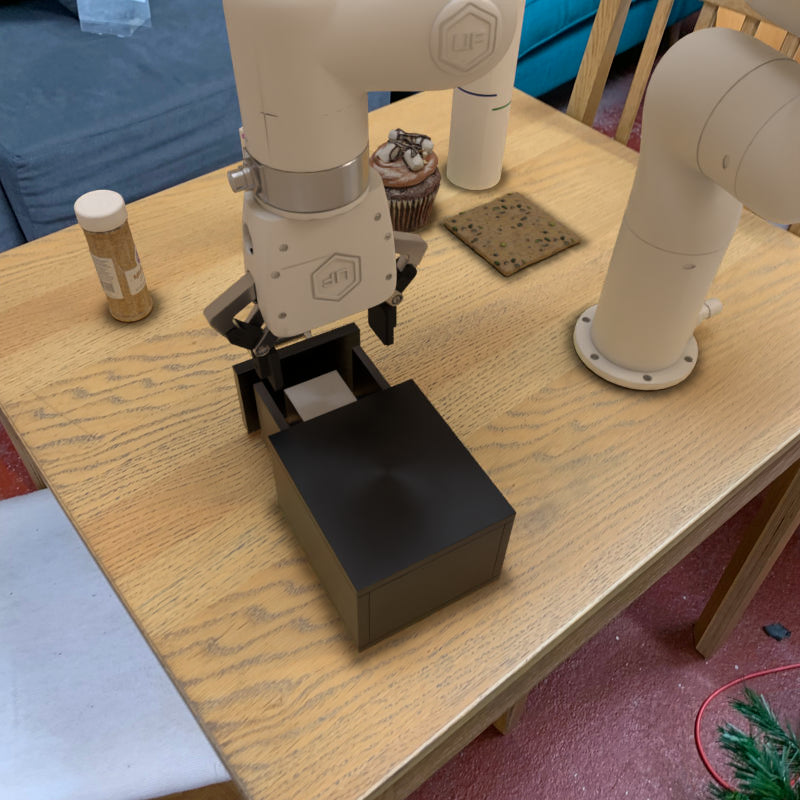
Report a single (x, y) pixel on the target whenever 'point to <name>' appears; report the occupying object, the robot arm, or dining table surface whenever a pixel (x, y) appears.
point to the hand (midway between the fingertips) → (327, 355)
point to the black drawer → (304, 375)
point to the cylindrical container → (483, 121)
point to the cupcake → (408, 177)
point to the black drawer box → (389, 510)
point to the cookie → (511, 232)
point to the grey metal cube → (316, 397)
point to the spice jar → (114, 253)
